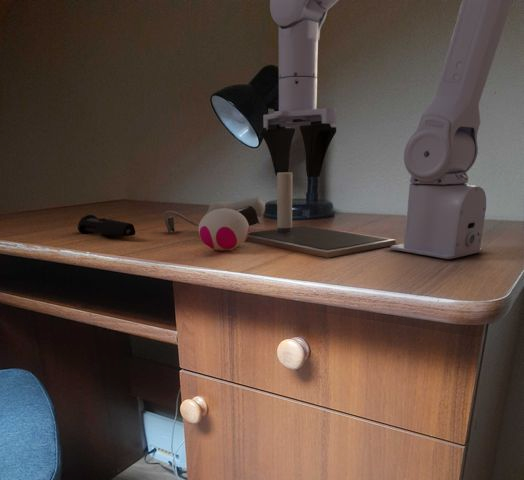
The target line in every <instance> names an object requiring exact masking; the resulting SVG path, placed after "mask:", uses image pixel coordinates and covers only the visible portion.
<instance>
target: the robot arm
mask: <svg viewBox="0 0 524 480" xmlns="http://www.w3.org/2000/svg"><path fill="white" fill-rule="evenodd" d="M339 1H340V0H269V10H270V15H271V18H272V20H273V22H274V23H275V24H276V25H278V27H277V28H278V110H276V111H274V112H273V113H268V114H263V117H262V118H263V119H262V120H263V122H262V123H263V124H262V125H263V128H264V129H261V130H260V134H261V136H262V138H263V140H264V142H265V145H266V146H267V149H268V151H269V155H270V158H271V162H272V166H273V170H274V174H275V176H276V177H277V173H283V172H289V170H290V155H291V149H292V148H291V147H292V142H293V138H294V135H295V132H296V128H295V127H298V126H299V130H300V133H301V136H302V140H303V146H304V152H305V172H306V177H307V178H316V177H317V178H319V177H320V176H321V173H322V169H323V164H324V161H325V157H326V154H327V151H328V149H329V147H330V144H331V142H332V140H333V138H334V137H335V135H336V133H337V127H336V126H332V125H333V124H337V108H331V107H330V108H327V107H325V108H317V103H318V102H317V101H318V57H319V55H318V54H319V53H318V52H319V49H318V48H319V41H320V37H321V28H322V26H323V25H324V22H325V20H326V17H327V14H328V11H329V10H330V9H331V8H332V7H333V6H334V5H335V4H337V3H338V2H339ZM512 2H513V0H461V3H460V7H459V10H458V14H457V17H456V22H455V25H454V28H453V32H452V35H451V39H450V43H449V46H448V50H447V53H446V57H445V60H444V63H443V67H442V70H441V74H440V77H439V81H438V84H437V88H436V92H435V96H434V97H433V99H432V100H431V102H430V103H429V104H428V106H427V107H426V108H425V109H424V111H423V112H422V114H421V116H420V120H419V123H418V126H417V128H416V130H415V131H414V133H413V134H411V136H410V138H409V139H408V141H407V142H406V145H405V147H404V152H403V163H404V166H405V169H406V170H407V172H408V173H409V175H410V176H411V177H410V178H409V189H408V197H407V198H408V199H407V211H406V219H405V220H406V221H405V232H404V242H403V243H398V244H395V245H393V246H389V247H390V248H389V249H390V250H393V251H399V252H404V253H411V254H415V255H421V256H426V257H433V258H438V259H443V260H453V259H457V258H461V257H466V256H470V255H474V254H478V253H481V252H483V250H484V249H483V248H482V247H481V245H482V237H483V232H484V231H483V230H484V223H485V217H486V211H487V195H486V192H485V190H484V189H483V188H482V187H481V186H479V185H471V184H468V183H469V176H468V174H467V173H468V171H469V170H471V169H472V167H473V166H474V165H475V162H476V161H477V157H478V154H479V146H478V131H479V129H480V125H481V115H480V114H481V113H480V103H481V99H482V95H483V92H484V90H485V89H484V88H485V86H486V84H487V80H488V77H489V74H490V71H491V68H492V65H493V61H494V59H495V55H496V52H497V49H498V46H499V44H500V40H501V36H502V35H503V30H504V27H505V25H506V22H507V18H508V15H509V13H510V8H511V6H512V4H513V3H512ZM294 120H302V121H294ZM293 127H294V128H293Z"/></svg>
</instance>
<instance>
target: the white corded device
mask: <svg viewBox="0 0 524 480" xmlns="http://www.w3.org/2000/svg"><path fill="white" fill-rule="evenodd" d="M221 208H227V209H232V210H235V211H237V212H239V213H241V214H242V215H243V216H244V217H245V218H246V220H247V222H248V224H249V227H250V226H254V225H257V224H258V225H260V224H261V218H260V217H262V216H263V215H264V213H265V211H266V205H265V202H264V201H263V199H262V198H260V197H258V196H255V197H250V198H247V199H242V200H237V201H234V202H227V201H224V200H215V201H213V202H211V203H210V205H209V206H208V209H207V211H206V213H205V215H206V214H207V213H209V212H211V211H213V210H216V209H221ZM168 214H173V215H175V216H177V217H179V218H181V219H183V220H184V221H186V222H188V223H189V224H191V225H193V226H196V227H199V224H200V222H195V221H193V220H191V219H190V218H188V217H186V216H184V215H183V214H180V213H178V212H176V211H174V210H167V211H165V212H164V214H163V220H164V223H165V227H166V230H167V232H168V233H169V234H173V233H174V232H175V218H174V216H169V217H167V215H168Z"/></svg>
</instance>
